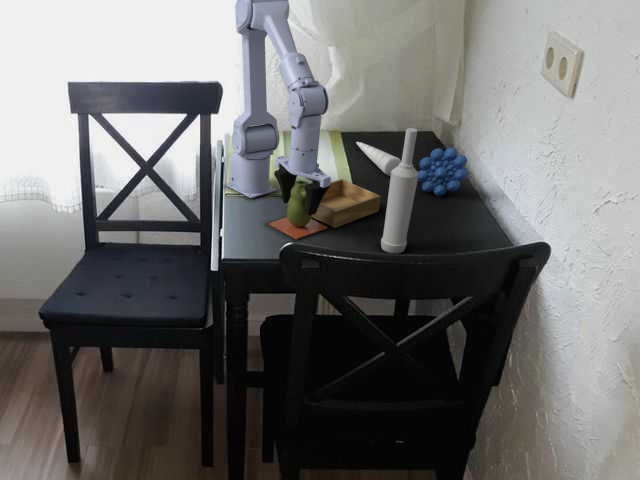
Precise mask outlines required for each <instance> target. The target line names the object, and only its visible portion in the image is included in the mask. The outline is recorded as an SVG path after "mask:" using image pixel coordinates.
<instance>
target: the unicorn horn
mask: <svg viewBox="0 0 640 480" xmlns="http://www.w3.org/2000/svg"><path fill="white" fill-rule="evenodd" d="M355 143H356V145H357V146H358V148H359V149H360V150H361V151H362V152H363V153H364V154H365V155H366V156H367V157H368V158H369V160H370V161H372V162H373V164H375V165H376V166H377V167H378V168H379V169H380V170H381V172H382V173H383V174H385V176H389V177H391V171H392V170H393V169H394V168H396V167H397V166H399V163H401V162H402V159H400V158H399V157H397V156H394V155H392V154H390V153H388V152H386V151H383V150H381V149H379V148H376V147H374V146H372V145H369V144H366V143H363V142H360V141H356V142H355Z"/></svg>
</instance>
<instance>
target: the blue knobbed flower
mask: <svg viewBox="0 0 640 480" xmlns="http://www.w3.org/2000/svg"><path fill="white" fill-rule="evenodd" d="M458 153H459V152H458V149H457V148H455V147H449V148H446V150H443V149H442V148H439V147H438V148H437V147H436V148H435V149H432V151H431V152H430V155H429V157H428V156H426V157H423V158H421V160H420V161H419V164H418V165H419V168H420V169H421V170H419V171H417V172H418V174H419V175H418V180H417V182H420V183H422V185H421V189H422V191H423V192H424V193H430V192H432V191H433V194H434V195H435V196H437V197H441V196H444V195H445V194H446V193H447V191H449V192H451V193H452V192H455V191H457V190H459V188H460V186H461V182H460V181H463V180H466V179H467V178H468V176H469V170H468V168H466V165H467V164H468V158H467V157H466V155H463V154H460V155H458Z"/></svg>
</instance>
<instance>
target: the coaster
mask: <svg viewBox="0 0 640 480" xmlns="http://www.w3.org/2000/svg"><path fill="white" fill-rule="evenodd" d="M268 226H270V227H272V228H274V229H276V230H278V231H280V232H281V233H283V234H285V235H287V236H288V237H291V238H293V239H294V240H296V241H297V240H301V239H303V238H306V237H308V236H311V235H315V234H317V233H319V232H322V231H326V230H328V226H326V225H324V223H322V222H321V223H320V222H319V221H318V220H317V221H316V219H314V218H313V219H312V218H311V220H310V222H309V223H308V224H306V225H305V226H301V227H298V226H294V225H292V224H291V223H290V222H289V221H288V218H287V216H286V217H283V218H280V219H277V220H274V221H271V222H268Z"/></svg>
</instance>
